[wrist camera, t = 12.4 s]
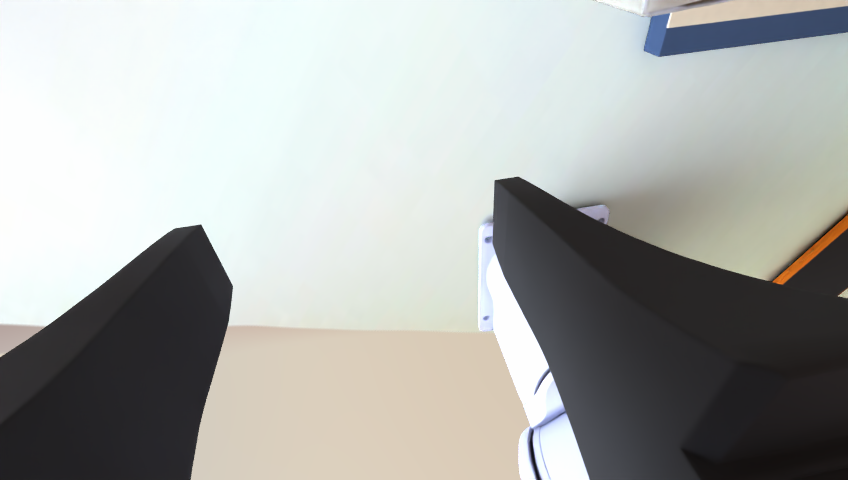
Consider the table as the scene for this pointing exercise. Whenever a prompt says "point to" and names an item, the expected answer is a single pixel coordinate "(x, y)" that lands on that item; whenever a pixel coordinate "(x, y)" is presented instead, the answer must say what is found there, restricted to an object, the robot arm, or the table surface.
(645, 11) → the box
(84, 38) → the table surface
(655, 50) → the towel
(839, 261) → the smartphone
